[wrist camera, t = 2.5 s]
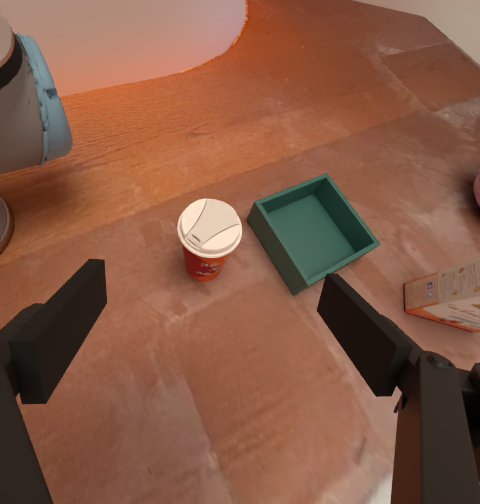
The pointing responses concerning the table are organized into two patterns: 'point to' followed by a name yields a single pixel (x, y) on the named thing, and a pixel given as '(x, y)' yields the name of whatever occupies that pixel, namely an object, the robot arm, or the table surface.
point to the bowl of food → (477, 188)
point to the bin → (310, 231)
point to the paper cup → (208, 236)
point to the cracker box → (448, 296)
